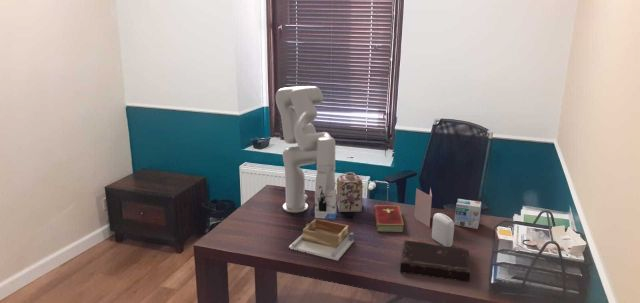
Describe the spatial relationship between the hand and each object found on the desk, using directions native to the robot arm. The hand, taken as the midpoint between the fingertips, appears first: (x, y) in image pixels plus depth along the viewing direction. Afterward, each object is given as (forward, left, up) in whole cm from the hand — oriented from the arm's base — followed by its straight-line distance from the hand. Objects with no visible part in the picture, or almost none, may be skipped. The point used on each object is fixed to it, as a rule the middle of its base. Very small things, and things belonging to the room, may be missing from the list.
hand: (325, 207), depth 188 cm
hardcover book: (-30, +18, -16) cm, 38 cm away
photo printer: (-21, +45, -16) cm, 52 cm away
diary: (-1, +46, -16) cm, 49 cm away
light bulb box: (-43, +52, -16) cm, 69 cm away
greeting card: (-37, +33, -16) cm, 52 cm away
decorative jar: (-37, -4, -16) cm, 40 cm away
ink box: (0, 0, -4) cm, 4 cm away
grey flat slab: (+4, 0, -16) cm, 16 cm away
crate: (0, 0, -14) cm, 14 cm away
